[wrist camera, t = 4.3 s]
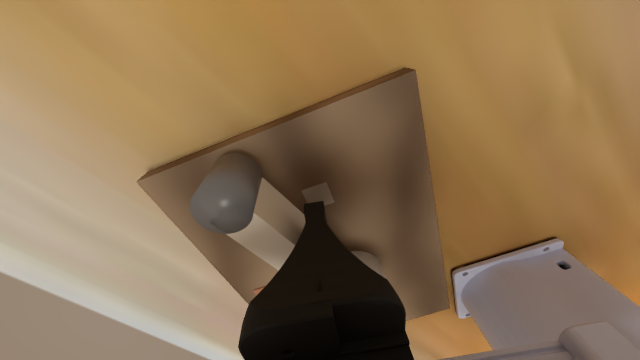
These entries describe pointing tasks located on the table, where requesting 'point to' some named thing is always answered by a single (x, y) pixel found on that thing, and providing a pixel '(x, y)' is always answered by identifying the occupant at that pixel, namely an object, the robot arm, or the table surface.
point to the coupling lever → (252, 211)
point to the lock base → (333, 187)
